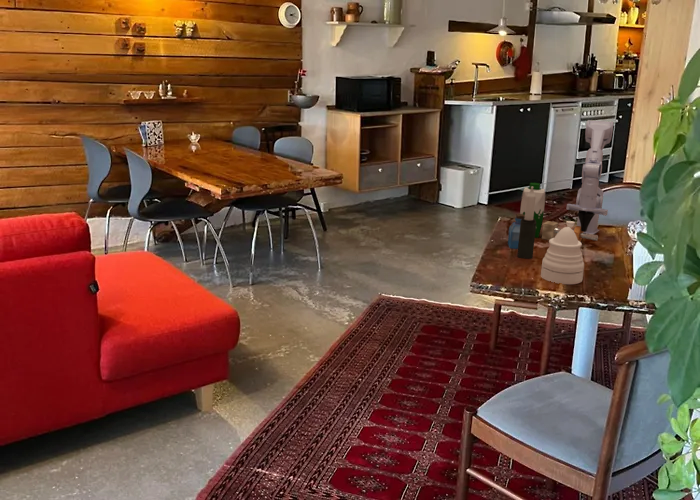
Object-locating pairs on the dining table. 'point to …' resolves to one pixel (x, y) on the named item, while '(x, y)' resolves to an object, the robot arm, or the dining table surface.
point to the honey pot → (563, 258)
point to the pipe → (582, 235)
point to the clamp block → (549, 230)
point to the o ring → (578, 232)
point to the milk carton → (538, 205)
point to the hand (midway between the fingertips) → (583, 231)
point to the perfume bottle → (515, 232)
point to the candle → (527, 229)
